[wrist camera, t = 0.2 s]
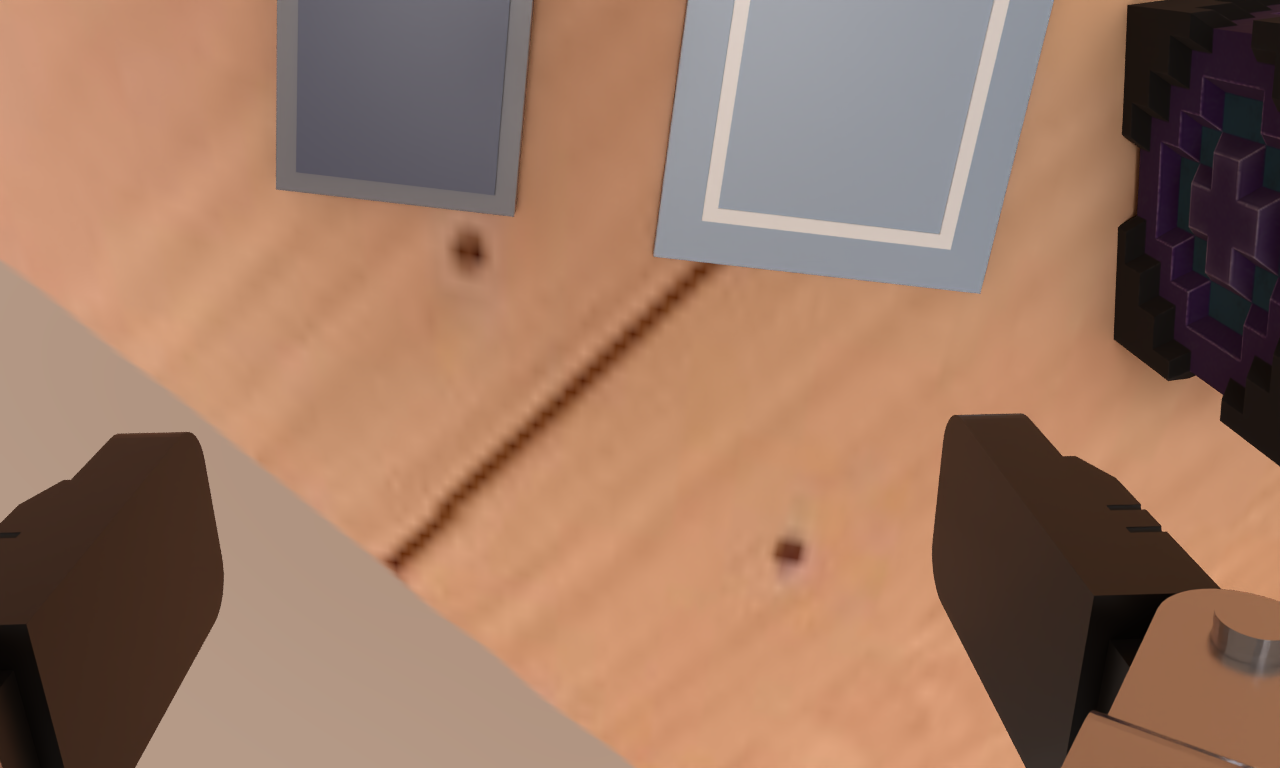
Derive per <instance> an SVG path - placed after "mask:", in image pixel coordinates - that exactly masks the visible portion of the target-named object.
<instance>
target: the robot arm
mask: <svg viewBox="0 0 1280 768" xmlns="http://www.w3.org/2000/svg"><path fill="white" fill-rule="evenodd" d="M932 563H933V573H934V580H935V585H936V589H937V593H938V596H939V599H940V601H941V603H942V605H943V607H944V609H945V611H946V613H947V615H948V617H949V619H950V621H951V623H952V625H953V627H954V629H955V630H956V632H957V634H958V636H959V638H960V640H961V642H962V644H963V646H964V648H965V650H966V652H967V654H968V656H969V658H970V660H971V662H972V664H973V666H974V668H975V669H976V671H977V673H978V675H979V677H980V679H981V681H982V683H983V685H984V687H985V689H986V691H987V693H988V695H989V697H990V699H991V701H992V703H993V705H994V707H995V708H996V710H997V712H998V714H999V716H1000V718H1001V720H1002V722H1003V724H1004V726H1005V728H1006V730H1007V732H1008V734H1009V736H1010V738H1011V740H1012V742H1013V744H1014V746H1015V747H1016V749H1017V751H1018V753H1019V755H1020V757H1021V759H1022V761H1023V763H1024V765H1025V767H1026V768H1280V601H1276V600H1273V599H1270V598H1267V597H1264V596H1260V595H1256V594H1252V593H1247V592H1241V591H1235V590H1226V589H1221V588H1220V587H1219V586H1218V585H1217V584H1216V583H1215V582H1214V581H1213V580H1212V579H1211V578H1210V577H1209V576H1208V575H1207V574H1206V573H1205V572H1204V571H1203V569H1202V568H1201V567H1200V566H1199V565H1198V564H1197V563H1196V562H1195V561H1194V560H1193V559H1192V558H1191V557H1190V556H1189V555H1188V554H1187V553H1186V552H1185V550H1184V549H1183V548H1182V547H1181V546H1180V545H1179V544H1178V543H1177V542H1176V541H1175V540H1174V539H1173V538H1172V537H1171V536H1170V535H1169V534H1168V533H1167V532H1162V530H1161V525H1160V524H1159V523H1158V522H1157V521H1156V520H1155V519H1154V518H1153V517H1152V516H1151V515H1150V514H1149V512H1148V511H1147V510H1141V504H1140V503H1139V502H1138V501H1137V500H1136V499H1135V498H1134V497H1133V496H1132V494H1131V493H1130V492H1129V491H1128V490H1127V489H1126V488H1125V487H1124V486H1123V485H1122V484H1121V483H1120V482H1119V481H1118V480H1117V479H1116V478H1115V477H1113V476H1111V475H1109V474H1107V473H1106V472H1104V471H1102V470H1100V469H1098V468H1096V467H1095V466H1093V465H1091V464H1089V463H1087V462H1085V461H1083V460H1082V459H1080V458H1078V457H1076V456H1062V455H1061V454H1060V453H1059V452H1058V450H1057V449H1056V448H1055V447H1054V446H1053V445H1052V444H1051V443H1050V441H1049V440H1048V439H1047V438H1046V437H1045V436H1044V435H1043V434H1042V432H1041V431H1040V430H1039V429H1038V428H1037V427H1036V426H1035V424H1034V423H1033V422H1032V421H1031V420H1030V419H1029V418H1028V417H1027V416H1026V415H1024V414H981V415H954V416H952V417H951V418H950V419H949V421H948V423H947V426H946V429H945V434H944V440H943V448H942V458H941V467H940V476H939V486H938V495H937V505H936V514H935V524H934V533H933V544H932ZM223 582H224V572H223V561H222V555H221V549H220V544H219V538H218V533H217V527H216V521H215V516H214V510H213V505H212V499H211V493H210V488H209V482H208V477H207V471H206V465H205V460H204V455H203V451H202V448H201V445H200V443H199V441H198V439H197V438H196V436H195V435H194V434H192V433H190V432H175V433H174V432H172V433H130V434H116V435H114V436H113V437H112V438H110V440H109V441H108V442H107V443H106V444H105V445H104V446H103V447H102V448H101V449H100V450H99V451H98V452H97V453H96V454H95V455H94V456H93V457H92V459H91V460H90V461H89V462H88V463H87V464H86V465H85V466H84V467H83V468H82V469H81V470H80V471H79V472H78V473H77V474H76V475H75V476H74V477H73V478H72V480H63V481H61V482H59V483H58V484H56V485H54V486H52V487H50V488H49V489H47V490H45V491H43V492H41V493H40V494H38V495H36V496H34V497H32V498H30V499H29V500H27V501H25V502H23V503H21V504H19V505H18V506H17V507H16V508H15V509H14V510H13V511H12V512H11V513H10V514H9V515H8V516H7V517H6V518H5V519H4V520H3V521H2V522H1V523H0V768H135V767H136V765H137V763H138V761H139V759H140V758H141V756H142V754H143V752H144V750H145V749H146V747H147V745H148V743H149V741H150V739H151V738H152V736H153V734H154V732H155V730H156V728H157V727H158V725H159V723H160V721H161V719H162V717H163V716H164V714H165V712H166V710H167V708H168V707H169V705H170V703H171V701H172V699H173V698H174V696H175V694H176V692H177V690H178V688H179V686H180V685H181V683H182V681H183V679H184V677H185V676H186V674H187V672H188V670H189V668H190V667H191V665H192V663H193V661H194V659H195V657H196V656H197V654H198V652H199V650H200V648H201V647H202V644H203V642H204V641H205V639H206V637H207V636H208V634H209V632H210V630H211V628H212V627H213V625H214V623H215V621H216V619H217V616H218V613H219V610H220V606H221V601H222V595H223Z"/></svg>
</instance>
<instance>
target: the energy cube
mask: <svg viewBox="0 0 1280 768" xmlns="http://www.w3.org/2000/svg"><path fill="white" fill-rule="evenodd" d="M1122 135H1123V136H1124V137H1125V138H1127V139H1128V140H1130V141H1131V142H1132V143H1134V144H1135V145H1136V146H1138V147H1139V148H1140V167H1139V189H1138V207H1137V216H1135V217H1134V218H1132V219H1130V220H1129V221H1127V222H1125V223H1124V224H1122V225H1120V226H1119V227H1118V248H1117V272H1116V296H1115V320H1114V340H1116V341H1117V342H1118V343H1119V344H1121V345H1122V346H1123V347H1125V348H1126V349H1127V350H1129V351H1130V352H1131V353H1133V354H1134V355H1135V356H1136V357H1138V358H1139V359H1140V360H1142V361H1143V362H1144V363H1146V364H1147V365H1148V366H1150V367H1151V368H1152V369H1153V370H1155V371H1156V372H1157V373H1159V374H1160V375H1161V376H1162V377H1164V378H1165V379H1166V380H1167V381H1171V380H1179V379H1187V378H1190V377H1193V376H1195V375H1196V376H1197V377H1199V378H1200V379H1202V380H1203V381H1205V382H1206V383H1207V384H1209V385H1210V386H1212V387H1213V388H1214V389H1216V390H1217V391H1218V392H1220V393H1221V394H1223V398H1222V403H1221V415H1220V421H1221V422H1223V423H1224V424H1225V425H1227V426H1228V427H1229V428H1230V429H1232V430H1233V431H1234V432H1236V433H1237V434H1238V435H1240V436H1241V437H1242V438H1243V439H1245V440H1246V441H1247V442H1249V443H1250V444H1251V445H1253V446H1254V447H1255V448H1257V449H1258V450H1259V451H1260V452H1262V453H1263V454H1264V455H1266V456H1267V457H1268V458H1270V459H1271V460H1272V461H1274V462H1275V463H1276V464H1277V465H1279V466H1280V0H1163V1H1155V2H1148V3H1140V4H1133V5H1128V7H1127V31H1126V55H1125V79H1124V103H1123V124H1122Z"/></svg>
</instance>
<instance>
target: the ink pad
mask: <svg viewBox="0 0 1280 768" xmlns="http://www.w3.org/2000/svg"><path fill="white" fill-rule="evenodd" d="M533 6H534V0H277V115H276V189H278V190H286V191H295V192H304V193H312V194H321V195H330V196H338V197H347V198H356V199H364V200H373V201H382V202H390V203H399V204H408V205H416V206H425V207H434V208H443V209H451V210H460V211H469V212H477V213H486V214H495V215H503V216H512V217H514V215H515V211H516V202H517V191H518V179H519V167H520V156H521V144H522V133H523V121H524V110H525V98H526V87H527V75H528V64H529V52H530V41H531V29H532V18H533Z"/></svg>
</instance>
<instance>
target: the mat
mask: <svg viewBox="0 0 1280 768" xmlns="http://www.w3.org/2000/svg"><path fill="white" fill-rule="evenodd" d="M1053 1H1054V0H687V7H686V14H685V21H684V29H683V36H682V44H681V51H680V58H679V66H678V73H677V81H676V88H675V95H674V103H673V110H672V118H671V125H670V132H669V140H668V147H667V155H666V162H665V169H664V177H663V184H662V192H661V199H660V206H659V214H658V221H657V228H656V236H655V243H654V251H653V256H654V257H661V258H670V259H679V260H688V261H697V262H706V263H714V264H723V265H732V266H741V267H750V268H758V269H767V270H776V271H785V272H794V273H802V274H811V275H820V276H829V277H838V278H847V279H855V280H864V281H873V282H882V283H891V284H899V285H908V286H917V287H926V288H935V289H944V290H952V291H961V292H970V293H979V294H980V292H981V288H982V284H983V280H984V276H985V273H986V269H987V265H988V261H989V257H990V253H991V249H992V245H993V241H994V237H995V233H996V229H997V225H998V221H999V217H1000V213H1001V209H1002V205H1003V201H1004V197H1005V193H1006V189H1007V185H1008V181H1009V177H1010V173H1011V169H1012V165H1013V161H1014V157H1015V153H1016V149H1017V145H1018V141H1019V137H1020V133H1021V129H1022V125H1023V121H1024V117H1025V113H1026V109H1027V105H1028V101H1029V97H1030V93H1031V89H1032V85H1033V81H1034V77H1035V73H1036V69H1037V65H1038V61H1039V57H1040V53H1041V49H1042V45H1043V41H1044V37H1045V33H1046V29H1047V25H1048V21H1049V17H1050V13H1051V9H1052V5H1053Z"/></svg>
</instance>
